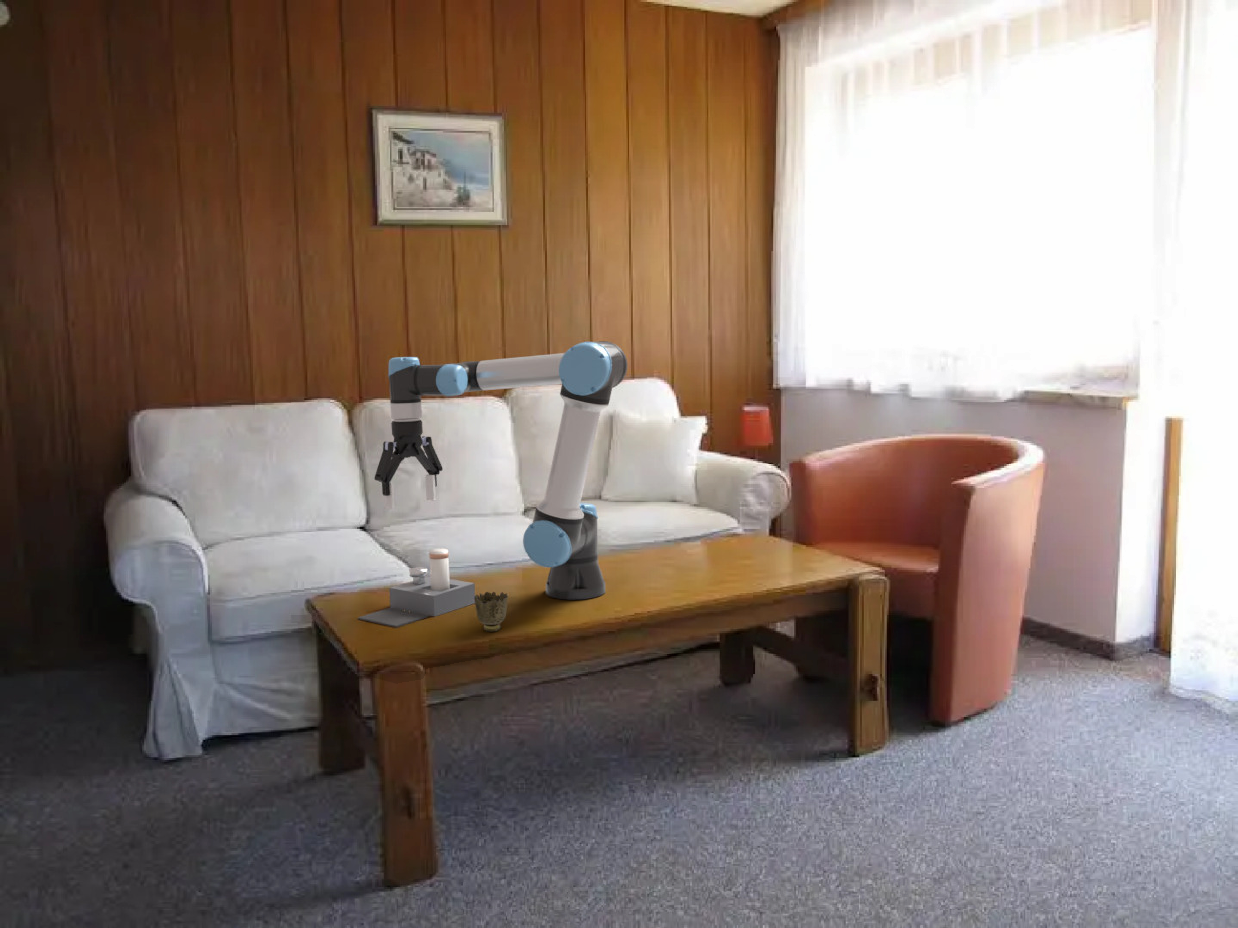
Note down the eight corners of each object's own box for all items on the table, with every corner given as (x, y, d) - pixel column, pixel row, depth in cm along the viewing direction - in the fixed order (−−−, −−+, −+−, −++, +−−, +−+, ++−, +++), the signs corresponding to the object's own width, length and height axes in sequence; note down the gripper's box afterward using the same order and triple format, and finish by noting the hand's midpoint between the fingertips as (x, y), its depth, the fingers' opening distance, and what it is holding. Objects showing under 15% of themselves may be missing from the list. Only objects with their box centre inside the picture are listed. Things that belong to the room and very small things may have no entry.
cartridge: (454, 606, 257) (452, 549, 255) (441, 610, 253) (438, 553, 251) (441, 603, 260) (438, 547, 258) (427, 607, 256) (425, 551, 254)
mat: (428, 617, 248) (428, 615, 248) (396, 627, 240) (396, 625, 240) (390, 609, 255) (390, 607, 255) (358, 619, 247) (357, 617, 247)
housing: (475, 603, 259) (474, 583, 259) (434, 616, 248) (433, 596, 247) (431, 594, 268) (430, 575, 267) (390, 607, 257) (389, 587, 256)
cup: (469, 633, 234) (468, 598, 233) (485, 624, 241) (483, 590, 240) (499, 636, 232) (498, 601, 231) (514, 627, 239) (513, 592, 237)
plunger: (432, 592, 261) (431, 568, 260) (419, 596, 257) (418, 572, 256) (419, 589, 263) (418, 566, 263) (406, 593, 260) (405, 569, 259)
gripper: (433, 414, 273) (437, 495, 276) (356, 423, 254) (361, 510, 256) (453, 415, 269) (457, 498, 272) (377, 424, 249) (382, 513, 252)
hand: (411, 504), depth 264 cm, fingers open, 13 cm apart
